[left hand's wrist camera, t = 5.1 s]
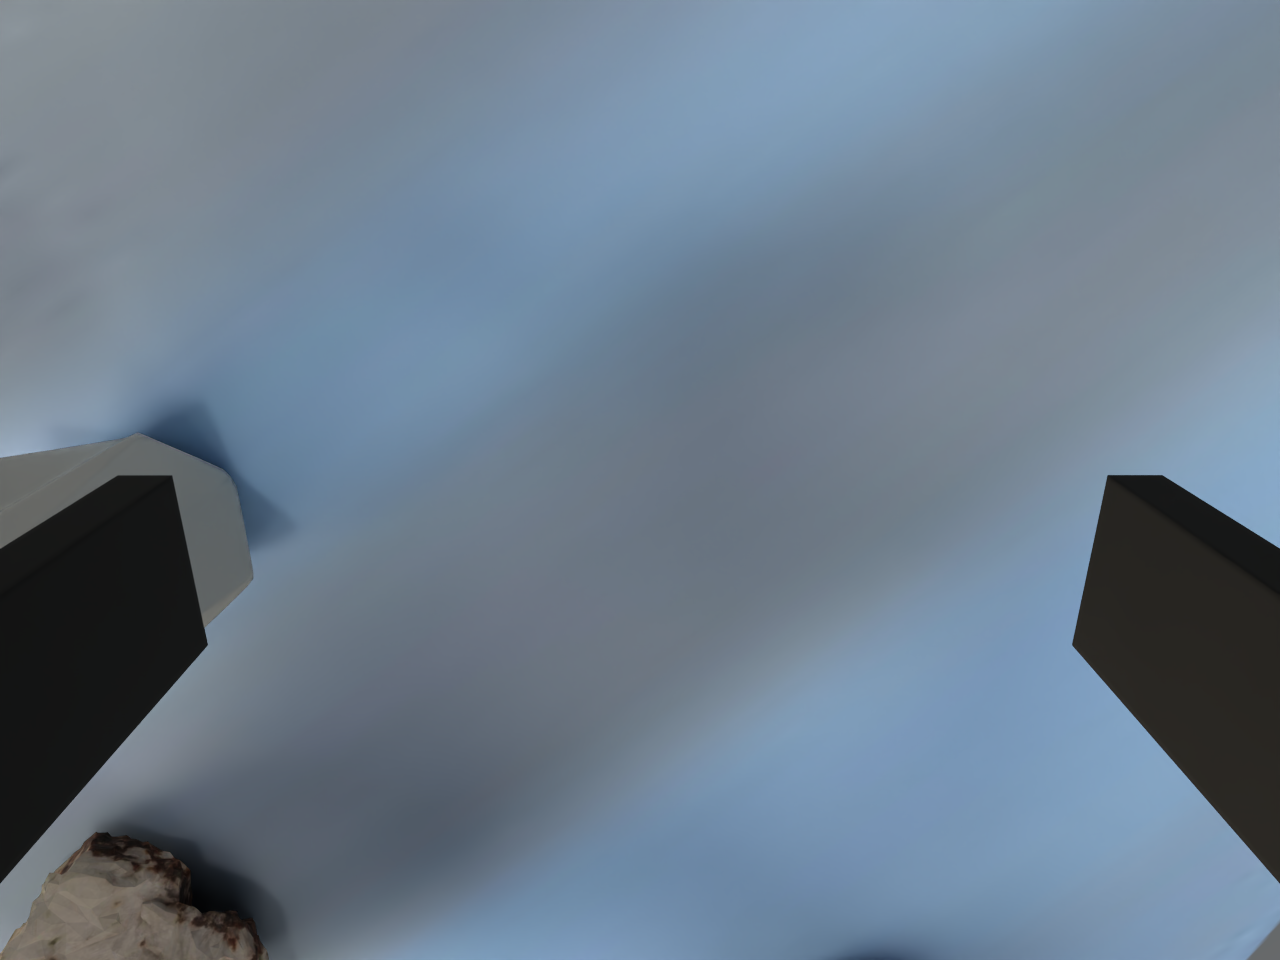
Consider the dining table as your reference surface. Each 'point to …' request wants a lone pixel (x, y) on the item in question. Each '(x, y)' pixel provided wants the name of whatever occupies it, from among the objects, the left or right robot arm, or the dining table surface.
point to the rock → (127, 911)
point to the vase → (207, 496)
